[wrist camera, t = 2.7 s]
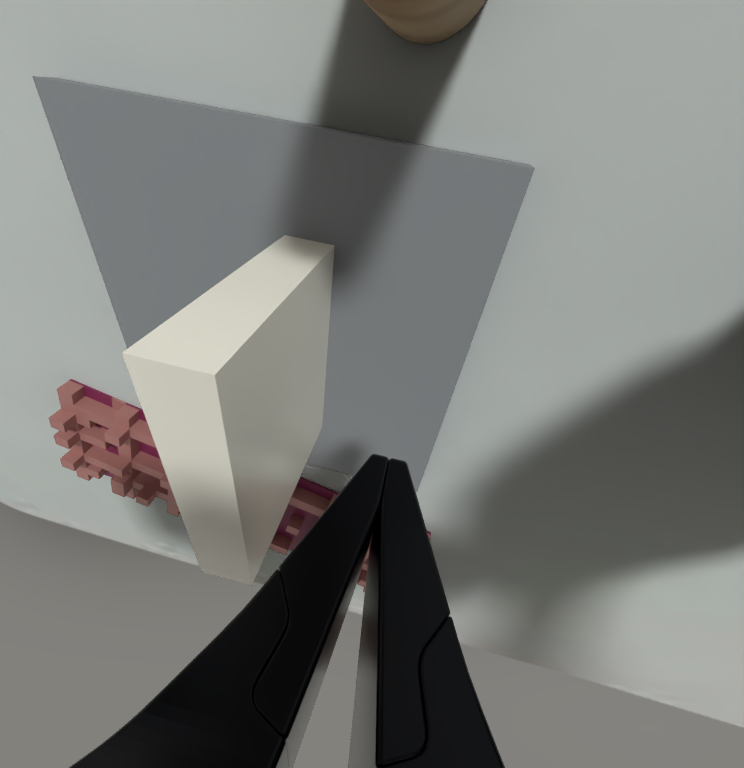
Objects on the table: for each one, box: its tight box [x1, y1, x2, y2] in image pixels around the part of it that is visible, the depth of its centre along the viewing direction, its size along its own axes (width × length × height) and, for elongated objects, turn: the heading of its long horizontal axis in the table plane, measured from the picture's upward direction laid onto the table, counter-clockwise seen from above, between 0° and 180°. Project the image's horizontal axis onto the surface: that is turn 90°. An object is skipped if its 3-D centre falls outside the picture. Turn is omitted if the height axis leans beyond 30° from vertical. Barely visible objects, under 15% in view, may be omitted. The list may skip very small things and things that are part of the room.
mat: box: [33, 76, 534, 492], centre depth 12 cm, size 12×12×1 cm
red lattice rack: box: [49, 379, 431, 592], centre depth 19 cm, size 7×19×2 cm, turn 67°
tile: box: [122, 235, 335, 586], centre depth 10 cm, size 2×7×6 cm, turn 172°
